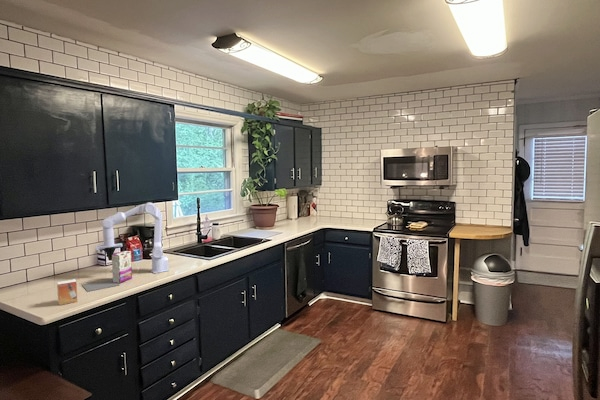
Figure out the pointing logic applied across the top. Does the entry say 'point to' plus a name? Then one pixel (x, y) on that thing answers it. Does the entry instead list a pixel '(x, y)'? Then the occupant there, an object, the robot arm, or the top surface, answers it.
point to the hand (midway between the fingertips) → (110, 260)
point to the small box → (67, 292)
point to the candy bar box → (121, 266)
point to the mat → (99, 285)
